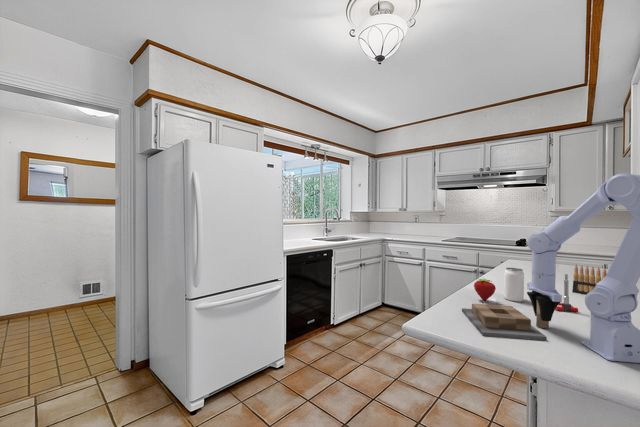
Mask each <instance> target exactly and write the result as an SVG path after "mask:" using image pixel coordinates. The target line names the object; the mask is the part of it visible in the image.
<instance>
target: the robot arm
mask: <svg viewBox="0 0 640 427" xmlns="http://www.w3.org/2000/svg"><path fill="white" fill-rule="evenodd" d="M619 204H620V205H621V206H623V207H624V208H626V210H627V211H628V212H629V213H630V215H631V216H632V219H631V221H630V224H629V226H628V228H627V230H626V233H625V234H624V237H623V239H622V241H621V243H620V246H619V247H618V250H617V252H616V254H615V255H614V258H613V260H612V263H611V264H610V266H609V269H608V271H607V272H606V277H605V278H603V279H602V278H601V281H600V282H598V283H597V284H596V286H595V288H594V289H593V290H592V291H591V292H589V293H588V294H587V295H584V304H585V306H586V308H587V309H588V311H589V313H590V328H589V330H590V331H589V335H590V336H589V341H587V340H582V341H581V342H580V343H581V344H583V345H584V346H585V347H587V348H589V349H590V350H591V351H594V352H595V353H596V354H598V355H599V356H601V357H602V358H603V359H606V360H607V361H612V362H625V363H637V364H640V329H639V328H638V327H636V326H635V325H634V324H633V321H632V315H631V314H632V313H633V312H634V311H635V310H636V309H637V308H638V305H639V303H638V294H639V292H640V290H639V288H638V286H637V283H638V282H639V280H640V174H632V173H627V172H625V173H623V172H622V173H617V174H615V175H613V176H611V177H610V178H609V179H608V180H607V181H606V182H603V183H602V184H600V185H599V186H598V188H597V189H596V191H595V192H593V194H592V195H590V197H588V198H586V200H585V201H583V202H582V203H581V204H580V205H579V206H578V207H577V208H576V209H575V210H574V211H572V212H571V213H569V215H561V216H555V217H554V218H553V221H552V222H551V223H550V224H548V226H547V227H545V228H542V229H541V230H540V232H539V233H538V232H537V233H536V232H535V233H532V234H531V235H530V236H529V238H528V240H527V247H528V249H529V250H530V251H531V281H527V282H526V285H527V287H526V289H527V290H529V291H527V292H526V294H527V296H528V298H529V300H530V303H531V305H532V308H533V309H532V310H533V313H534V315H535V317H537V301H538V304H539V307H540V315H541V320H542V321H549V322H551V321H552V318H553V314H554V312H555V311H556V310H555V308H556V307H557V306H559V305H558V304H559V303H563V295H562V294H561V293H559V292H558V290H557V289H556V277H557V276H556V274H557V273H556V270H557V269H556V268H557V267H556V264H557V263H556V261H557V260H556V259H557V258H556V257H558V256H557V255H558V254H557V253H558V251H560V249H561V248H562V244H564V243H565V242H566V241H568V240H569V239H570V238H572V237H573V236H575V234H576V235H577V233H579V232H580V231H581V224H583V223H584V222H586V221H587V220H589V219H591V218H592V217H594V216H595V215H596V214H598V213H599V212H601V211H602V210H604V209H606V208H607V207H609V206H612V205H619Z"/></svg>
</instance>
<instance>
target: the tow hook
mask: <svg viewBox="0 0 640 427" xmlns="http://www.w3.org/2000/svg"><path fill="white" fill-rule="evenodd" d="M569 281H570V280H569V276H568V274H567V273H566V274H565V273H564V279H563V293H564V294H563V302H560V303H559V304H558V306H557V307H556V308H555V310H554V311H558V312H566V313H567V312H574V313H576V312H577V313H578V312H579V308H578V307H575V306H573V305H572V304H571V303H570V296H569V285H570V284H569Z"/></svg>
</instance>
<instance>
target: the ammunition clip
mask: <svg viewBox="0 0 640 427" xmlns="http://www.w3.org/2000/svg"><path fill="white" fill-rule="evenodd" d="M573 270H574V272H573V276H572V277H573V280H572V289H571V290H572V293H574V294H578V295H579V294H580V295H584V296H586V295H587V294H588V293H589V292H591V291H592V290H593V289H594V288H595V286H596V284H597V283H598V282H600V281H601V280H602V279H603V278H605V277H606V275H607V269H606V268H605V267H603V270H602V274H601V270H600V267H599V266H598V267H597V268H596V273H595V268H594V266H591V268H590V269H589V266H588V265H586V266H585V269H584V266H583V265H582V264H581V265H580V267H578V265H577V264H575V266H574V268H573ZM595 274H596V275H595Z"/></svg>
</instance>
